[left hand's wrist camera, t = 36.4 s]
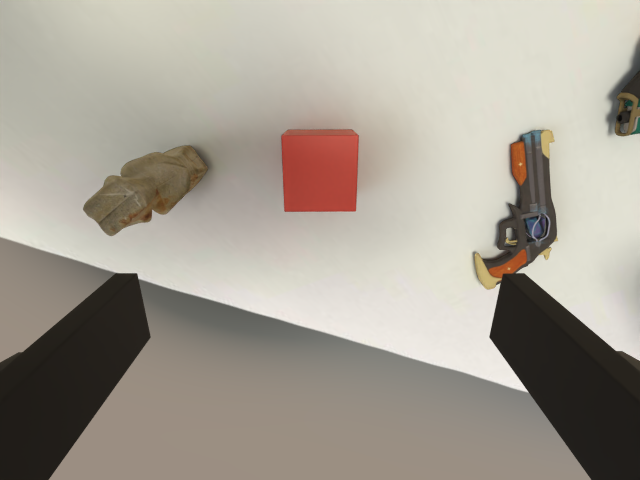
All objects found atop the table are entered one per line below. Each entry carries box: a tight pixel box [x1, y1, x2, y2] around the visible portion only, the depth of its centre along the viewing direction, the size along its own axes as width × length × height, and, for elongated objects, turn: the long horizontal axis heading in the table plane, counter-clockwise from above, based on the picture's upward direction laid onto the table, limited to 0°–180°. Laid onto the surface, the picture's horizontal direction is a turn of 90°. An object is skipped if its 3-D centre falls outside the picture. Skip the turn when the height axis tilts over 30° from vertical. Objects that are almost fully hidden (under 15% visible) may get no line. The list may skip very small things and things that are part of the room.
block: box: [281, 130, 359, 212], centre depth 40 cm, size 8×8×7 cm
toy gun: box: [475, 130, 558, 289], centre depth 44 cm, size 3×19×10 cm
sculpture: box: [83, 146, 208, 236], centre depth 36 cm, size 6×7×15 cm
